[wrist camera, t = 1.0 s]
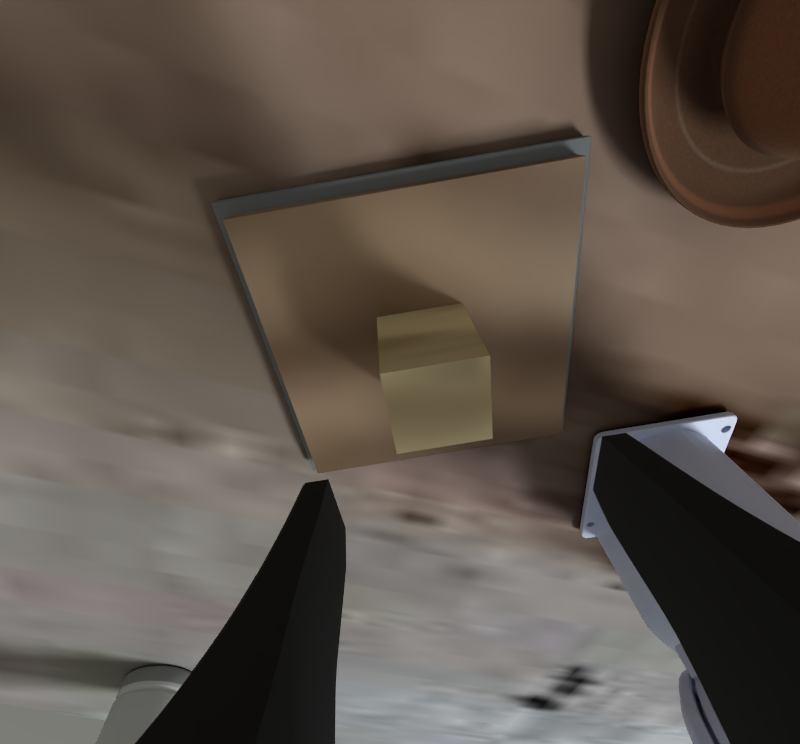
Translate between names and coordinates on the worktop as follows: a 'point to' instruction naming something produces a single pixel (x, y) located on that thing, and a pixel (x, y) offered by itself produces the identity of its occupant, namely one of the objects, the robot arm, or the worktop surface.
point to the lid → (421, 310)
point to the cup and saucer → (725, 107)
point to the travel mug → (140, 702)
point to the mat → (390, 180)
